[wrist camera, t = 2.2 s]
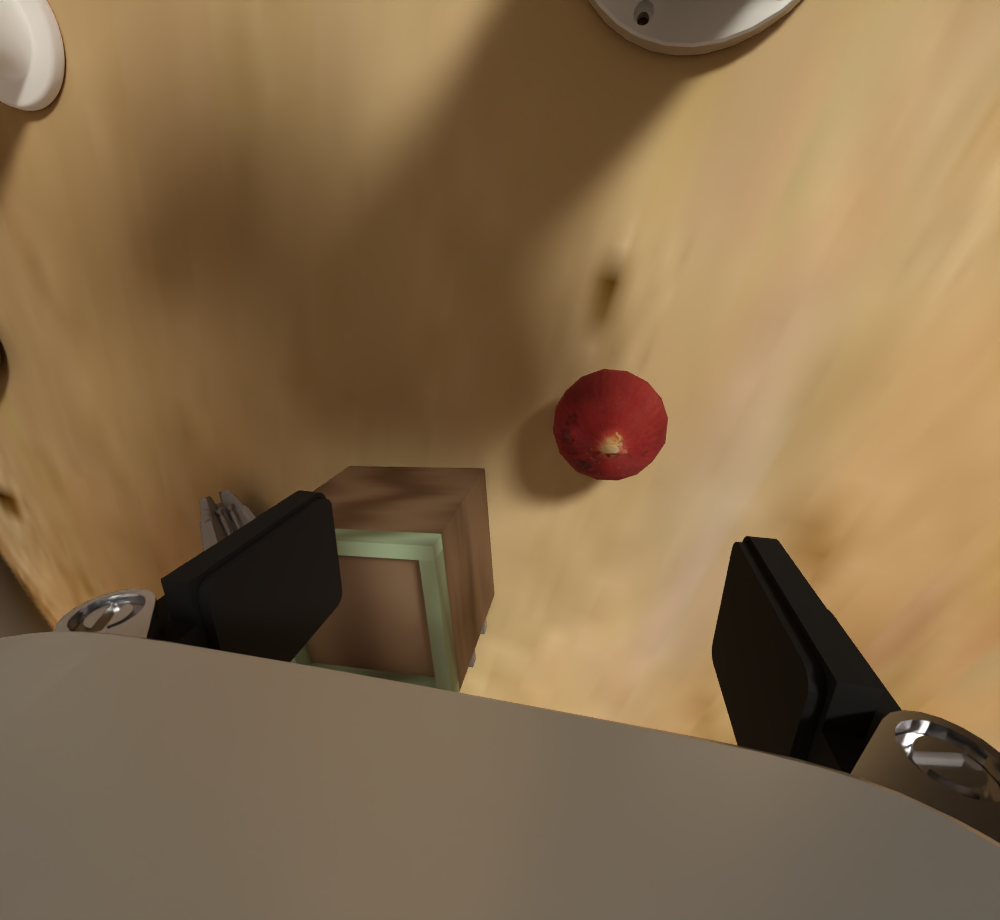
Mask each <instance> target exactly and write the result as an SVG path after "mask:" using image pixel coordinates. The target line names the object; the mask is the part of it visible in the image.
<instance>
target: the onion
mask: <svg viewBox="0 0 1000 920" xmlns="http://www.w3.org/2000/svg"><path fill="white" fill-rule="evenodd" d="M667 422H668V417H667V414H666V411H665V408H664V405H663V402H662V399H661V397H660V396H659V395H658V394H657V393H656V391H655V390H654V389H653V388H652V387H651V386H650V384H649V383H648V382H647V381H645V380H643V379H641V378H639V377H637V376H635V375H633V374H631V373H629V372H628V371H619V370H608V369H602V370H600V371H597V372H594V373H591V374H588V375H585V376H583V377H581V378H580V379H579V380H578V381H577V382H575V383H574V384H573V385H572V386H571V387H570V388H569V389H567V390H566V392H565V393H564V395H563V397H562V398H561V400H560V402H559V403H558V405H557V407H556V411H555V419H554V427H553V432H554V436H555V439H556V442H557V445H558V448H559V452H560V454H561V455H562V456H563V457H564V458H565V459H566V461H567V462H568V463H569V464H570V465H571V466H572V467H573V468H574V470H576V471H577V472H579V473H582V474H584V475H587V476H590V477H592V478H595V479H597V480H620V479H623V478H627V477H630V476H633V475H636V474H638V473H639V472H640V471H642V470H643V469H644V468H645V467H647V466H648V465H649V464H650V463H651V462H652V461H653V460H654V459H655V457H656V456H657V454H658V453H659V451H660V450H661V448H662V447H663V445H664V444H665V440H666V431H667Z"/></svg>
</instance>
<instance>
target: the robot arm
mask: <svg viewBox="0 0 1000 920" xmlns="http://www.w3.org/2000/svg"><path fill="white" fill-rule="evenodd" d="M588 1H589V3H590V4H591V5H592V7H593V8H594V9H595V10H596V12H597V13H598V14H599V15H600V17H601V18H602V19H603V20H604V22H605V23H606V24H607V25H608V26H609V27H611V28H612V29H613V30H615V31H616V32H617V33H618V34H620V35H621V36H622V37H623V38H625V39H626V40H627V41H629V42H632V43H634V44H636V45H638V46H641V47H643V48H645V49H647V50H650V51H654V52H659V53H665V54H670V55H676V56H677V55H696V54H706V53H709V52H713V51H717V50H720V49H724V48H728V47H731V46H734V45H736V44H738V43H740V42H742V41H744V40H746V39H748V38H750V37H752V36H754V35H756V34H758V33H760V32H762V31H763V30H765V29H766V28H767V27H769V26H770V25H772V24H773V23H774V22H776V21H777V20H779V19H780V18H781V17H783V16H784V15H786V14H787V13H788V12H790V11H791V10H792V9H793V8H794V7H795V6H796V5H797V4H798V3H799V2H800V1H801V0H780V1H777V0H588ZM642 17H645V18H646V19H647V20H648V23H647V24H646V25H644V26H643V25H638V24H637V21H638V20H639V19H640V18H642ZM161 583H162V586H163V590H164V593H165V595H164V596H163V597H161V598H160V599H159V600H156V597H155V595H154V594H153V593H152V592H151V591H148V590H144V589H126V590H120V591H115V592H111V593H108V594H104V595H101V596H98V597H96V598H93V599H91V600H89V601H86V602H84V603H83V604H81V605H79V606H77V607H75V608H73V609H72V610H71V611H70V612H68V613H67V614H66V615H64V616H63V617H62V618H61V620H60V621H59V622H58V623H57V625H56V626H55V628H54V630H53V632H45V633H33V634H26V635H19V636H11V637H5V638H0V920H1000V752H998V751H997V750H996V749H994V748H993V747H992V746H991V745H989V744H988V743H987V742H985V741H984V740H982V739H981V738H979V737H977V736H976V735H974V734H972V733H971V732H969V731H967V730H966V729H964V728H962V727H960V726H958V725H956V724H953V723H951V722H949V721H947V720H944V719H942V718H939V717H936V716H933V715H929V714H926V713H922V712H916V711H906V710H901V709H900V707H899V706H898V704H897V703H896V702H895V700H894V699H893V697H892V696H891V695H890V693H889V692H888V690H887V689H886V688H885V686H884V685H883V683H882V682H881V681H880V679H879V678H878V677H877V675H876V674H875V672H874V671H873V670H872V668H871V667H870V665H869V664H868V663H867V661H866V660H865V658H864V657H863V656H862V654H861V653H860V651H859V650H858V649H857V647H856V646H855V644H854V643H853V642H852V640H851V639H850V638H849V636H848V635H847V633H846V632H845V631H844V629H843V628H842V626H841V625H840V624H839V622H838V621H837V619H836V618H835V617H834V615H833V614H832V613H831V612H830V611H829V610H828V609H827V608H826V607H825V605H824V604H823V603H822V601H821V600H820V598H819V597H818V596H817V594H816V593H815V591H814V590H813V589H812V587H811V586H810V584H809V583H808V582H807V580H806V579H805V577H804V576H803V575H802V573H801V572H800V570H799V569H798V568H797V566H796V565H795V563H794V562H793V560H792V559H791V558H790V556H789V555H788V553H787V552H786V551H785V549H784V548H783V546H782V545H781V544H780V542H779V541H778V540H777V539H770V538H760V537H750V536H746V537H745V538H744V540H743V541H742V542H735V543H734V545H733V547H732V551H731V556H730V561H729V566H728V571H727V576H726V581H725V586H724V590H723V595H722V600H721V605H720V610H719V615H718V620H717V624H716V629H715V634H714V639H713V644H712V660H713V664H714V668H715V671H716V674H717V678H718V681H719V684H720V688H721V691H722V694H723V698H724V701H725V704H726V708H727V711H728V714H729V718H730V721H731V725H732V728H733V731H734V735H735V738H736V741H737V745H738V746H737V745H732V744H728V743H723V742H719V741H714V740H709V739H704V738H699V737H694V736H688V735H683V734H678V733H672V732H667V731H662V730H656V729H651V728H646V727H640V726H635V725H630V724H625V723H619V722H614V721H609V720H603V719H598V718H593V717H587V716H582V715H577V714H571V713H566V712H561V711H555V710H550V709H545V708H539V707H534V706H528V705H523V704H518V703H512V702H507V701H501V700H496V699H491V698H485V697H480V696H474V695H469V694H464V693H458V692H453V691H447V690H442V689H436V688H431V687H425V686H420V685H414V684H409V683H403V682H398V681H392V680H387V679H381V678H375V677H370V676H364V675H358V674H353V673H347V672H342V671H336V670H330V669H325V668H319V667H314V666H308V665H302V664H296V663H291V661H292V660H293V658H294V657H295V656H296V655H297V654H298V653H299V651H300V650H301V649H302V648H303V647H304V645H305V644H306V643H307V642H308V641H309V640H310V638H311V637H312V636H313V635H314V634H315V633H316V631H317V630H318V629H319V628H320V627H321V625H322V624H323V623H324V622H325V621H326V620H327V618H328V617H329V616H330V615H331V614H332V613H333V611H334V610H335V609H336V608H337V607H338V605H339V603H340V601H341V598H342V583H341V575H340V567H339V558H338V550H337V542H336V534H335V526H334V518H333V510H332V504H331V502H330V500H329V499H326V497H325V495H324V494H323V493H319V492H309V491H297V492H295V493H294V494H292V495H291V496H289V497H287V498H286V499H284V500H283V501H281V502H280V503H278V504H277V505H275V506H274V507H272V508H270V509H269V510H267V511H266V512H264V513H263V514H261V515H260V516H258V517H256V518H255V519H253V520H252V521H250V522H249V523H247V524H246V525H244V526H243V527H241V528H239V529H238V530H236V531H235V532H233V533H232V534H230V535H229V536H227V537H225V538H224V539H222V540H221V541H219V542H218V543H216V544H215V545H213V546H211V547H210V548H208V549H207V550H205V551H204V552H202V553H201V554H199V555H198V556H196V557H194V558H193V559H191V560H190V561H188V562H187V563H185V564H184V565H182V566H180V567H179V568H177V569H176V570H174V571H173V572H171V573H170V574H168V575H167V576H165V577H163V578H162V579H161Z"/></svg>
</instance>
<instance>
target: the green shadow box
mask: <svg viewBox="0 0 1000 920" xmlns="http://www.w3.org/2000/svg"><path fill="white" fill-rule="evenodd" d="M313 492H319V493H323V494H324V495H325V497H326V499H329V500H330V502H331V504H332V510H333V518H334V526H335V534H336V542H337V550H338V558H339V567H340V575H341V583H342V598H341V601H340V603H339V605H338V607H337V608H336V609H335V610H334V611H333V613H332V614H331V615H330V616H329V617H328V618H327V620H326V621H325V622H324V623H323V624H322V625H321V627H320V628H319V629H318V630H317V631H316V633H315V634H314V635H313V636H312V637H311V638H310V640H309V641H308V642H307V643H306V644H305V645H304V647H303V648H302V649H301V650H300V651H299V653H298V654H297V655H296V656H295V657H294V658H293V660H292V661H291V663H296V664H302V665H308V666H314V667H319V668H325V669H330V670H336V671H342V672H347V673H353V674H358V675H364V676H370V677H375V678H381V679H387V680H392V681H398V682H403V683H409V684H414V685H420V686H425V687H431V688H436V689H442V690H447V691H453V692H458V693H459V691H460V689H461V686H462V683H463V680H464V678H465V675H466V672H467V669H468V667H473V666H474V663H475V660H476V655H475V647H476V644H477V641H478V639H479V636H480V634H485V631H486V628H487V624H486V616H487V614H488V611H489V608H490V605H491V602H492V600H493V597H494V583H493V570H492V558H491V545H490V532H489V519H488V506H487V494H486V481H485V469H479V468H421V467H362V466H349V467H347V468H346V469H345V470H343V471H342V472H340V473H339V474H337V475H336V476H335V477H333V478H332V479H330V480H329V481H327V482H326V483H325V484H323V485H322V486H320V487H319V488H317V489H316V490H315V491H313Z"/></svg>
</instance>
